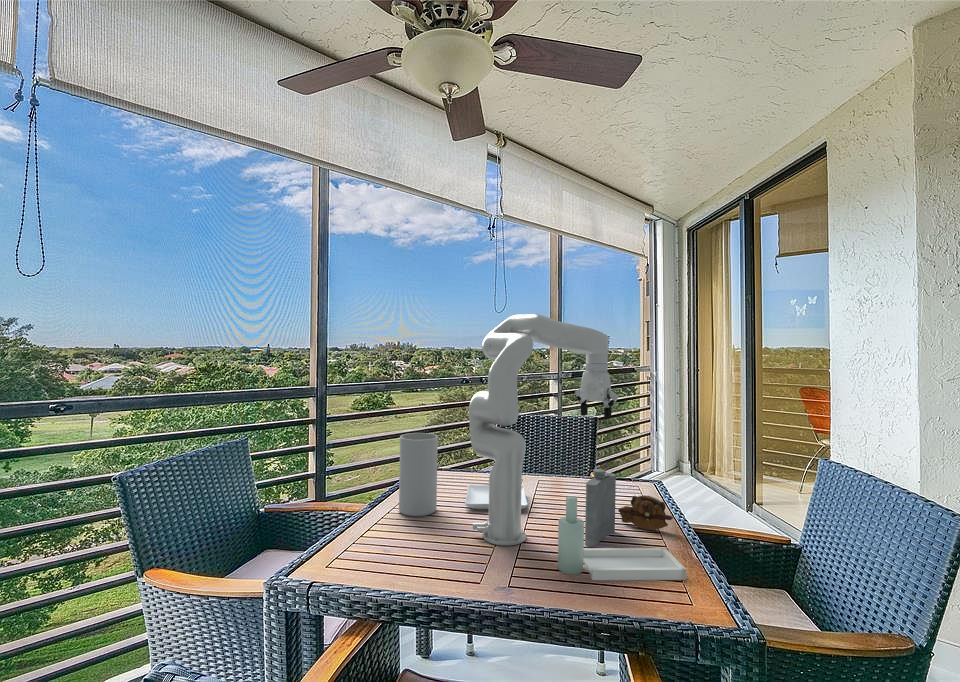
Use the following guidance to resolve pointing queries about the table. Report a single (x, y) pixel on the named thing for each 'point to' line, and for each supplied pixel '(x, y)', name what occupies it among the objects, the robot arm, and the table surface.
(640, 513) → the wooden carving
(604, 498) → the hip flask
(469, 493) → the salad plate
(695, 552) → the table surface
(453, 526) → the table surface
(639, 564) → the white rectangular tray
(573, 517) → the bottle
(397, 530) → the table surface
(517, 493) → the robot arm
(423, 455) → the cylinder vase
